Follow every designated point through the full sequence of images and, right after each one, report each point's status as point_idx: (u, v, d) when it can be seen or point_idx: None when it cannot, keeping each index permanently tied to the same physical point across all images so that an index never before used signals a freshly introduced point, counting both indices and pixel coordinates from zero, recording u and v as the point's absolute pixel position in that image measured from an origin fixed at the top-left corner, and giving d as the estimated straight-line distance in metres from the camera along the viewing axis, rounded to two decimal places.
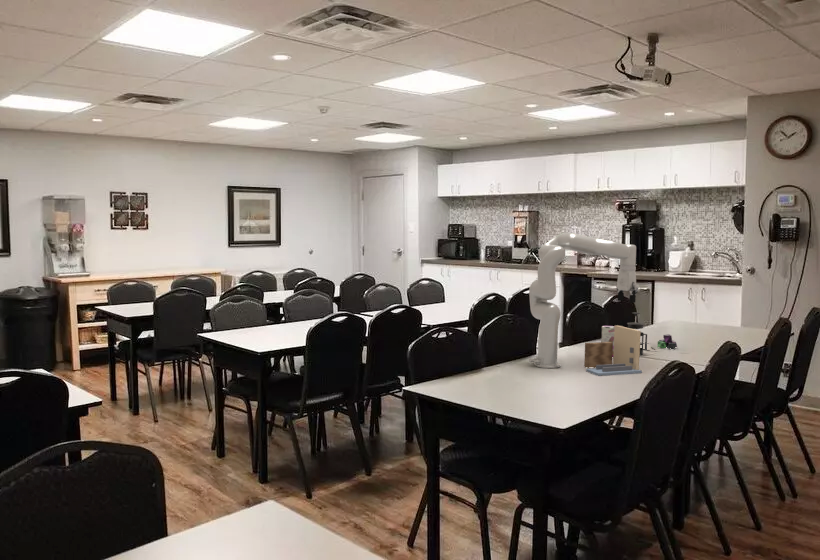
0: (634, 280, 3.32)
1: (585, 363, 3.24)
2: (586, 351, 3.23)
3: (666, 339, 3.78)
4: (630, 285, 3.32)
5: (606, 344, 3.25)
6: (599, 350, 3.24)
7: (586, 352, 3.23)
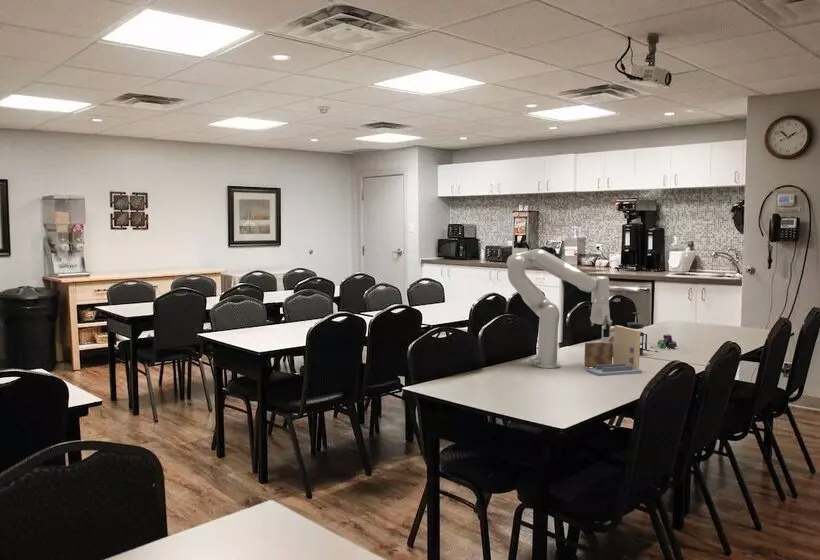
0: (607, 313, 3.19)
1: (585, 363, 3.24)
2: (586, 351, 3.23)
3: (666, 339, 3.78)
4: (603, 319, 3.19)
5: (606, 344, 3.25)
6: (599, 350, 3.24)
7: (586, 352, 3.23)
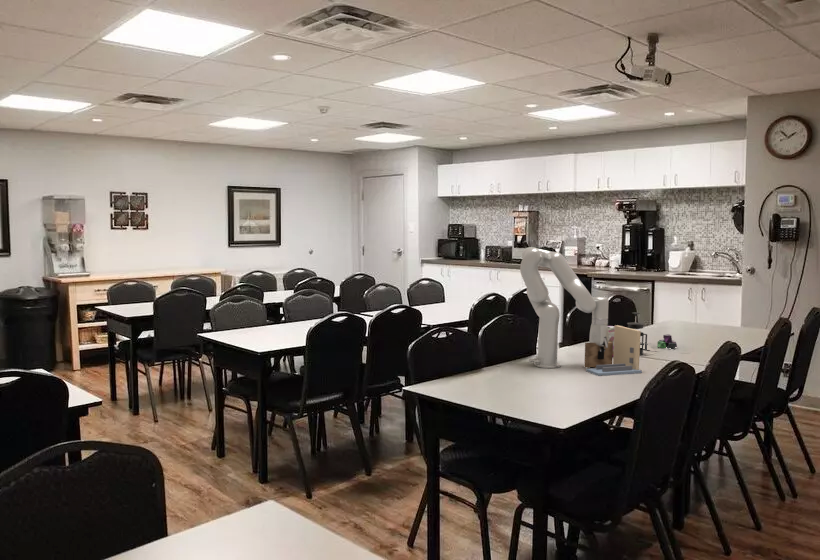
0: (606, 334, 3.20)
1: (585, 363, 3.24)
2: (586, 351, 3.23)
3: (666, 339, 3.78)
4: (602, 340, 3.20)
5: None
6: None
7: (586, 352, 3.23)
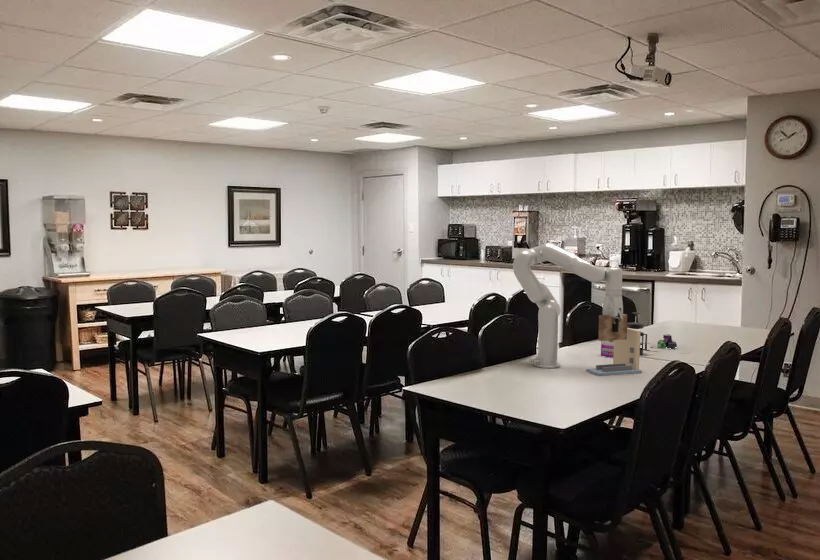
0: (621, 306, 3.09)
1: (599, 336, 3.13)
2: (600, 323, 3.12)
3: (666, 339, 3.78)
4: (617, 311, 3.09)
5: None
6: None
7: (600, 324, 3.12)
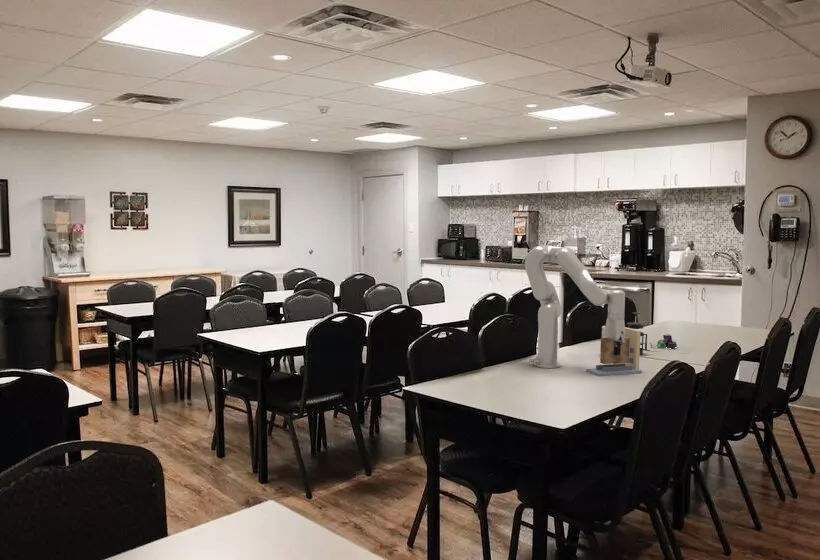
0: (623, 329, 3.08)
1: (601, 359, 3.12)
2: (602, 346, 3.11)
3: (666, 339, 3.78)
4: (618, 335, 3.07)
5: None
6: None
7: (602, 347, 3.11)
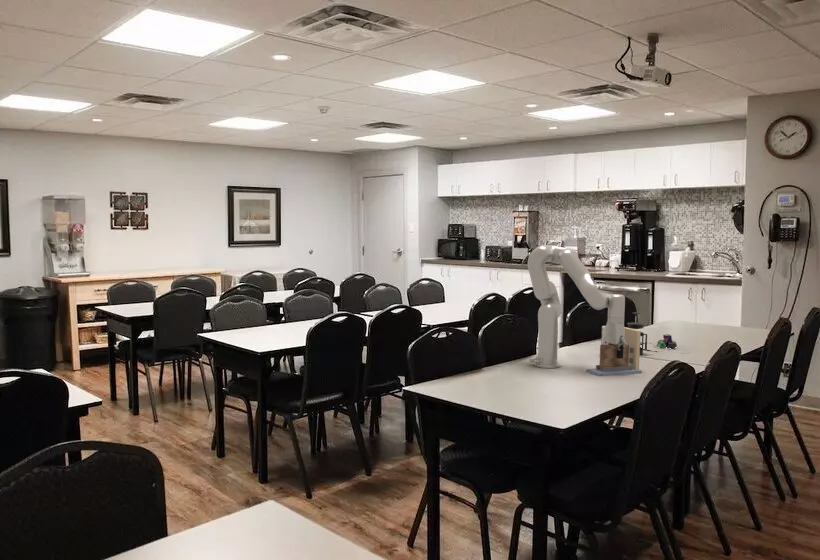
0: (623, 333, 3.08)
1: (600, 366, 3.12)
2: (601, 353, 3.11)
3: (666, 339, 3.78)
4: (618, 339, 3.07)
5: None
6: (615, 353, 3.11)
7: (601, 354, 3.11)
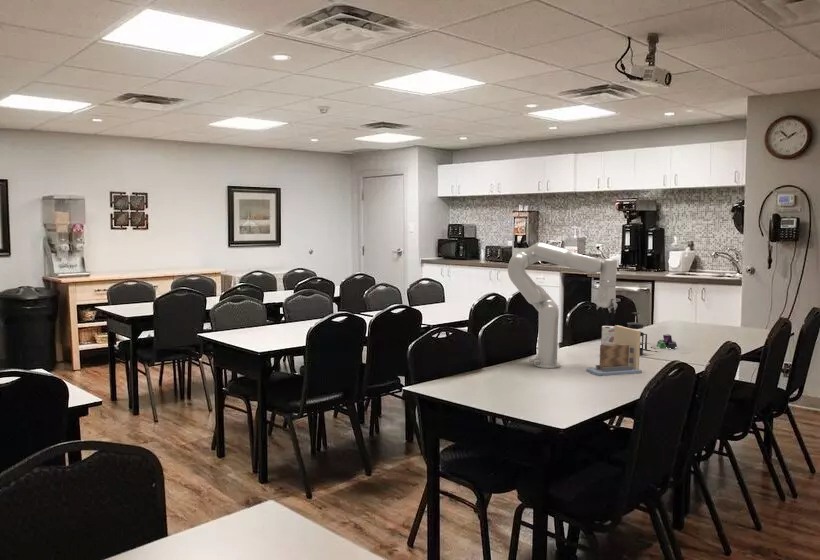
0: (613, 297, 3.13)
1: (600, 366, 3.12)
2: (601, 353, 3.11)
3: (666, 339, 3.78)
4: (609, 302, 3.12)
5: (622, 346, 3.12)
6: (615, 353, 3.11)
7: (601, 354, 3.11)
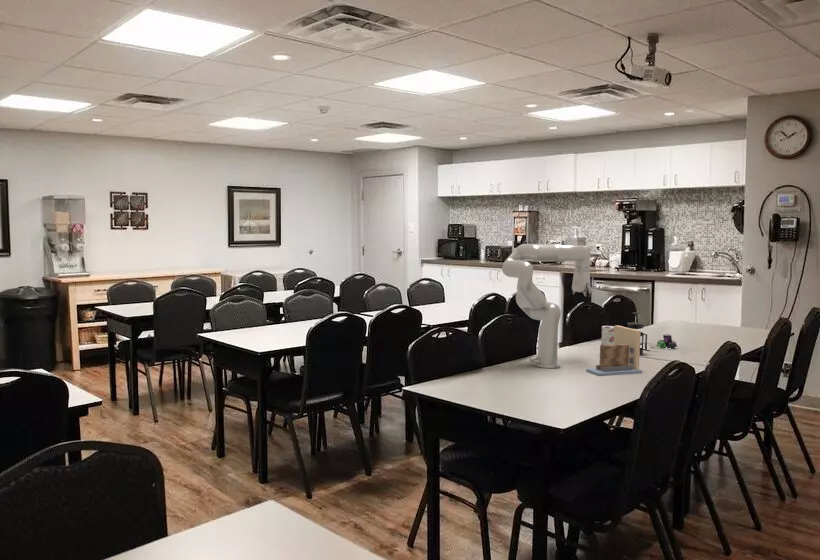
0: (588, 281, 3.31)
1: (600, 366, 3.12)
2: (601, 353, 3.11)
3: (666, 339, 3.78)
4: (584, 286, 3.30)
5: (622, 346, 3.12)
6: (615, 353, 3.11)
7: (601, 354, 3.11)
